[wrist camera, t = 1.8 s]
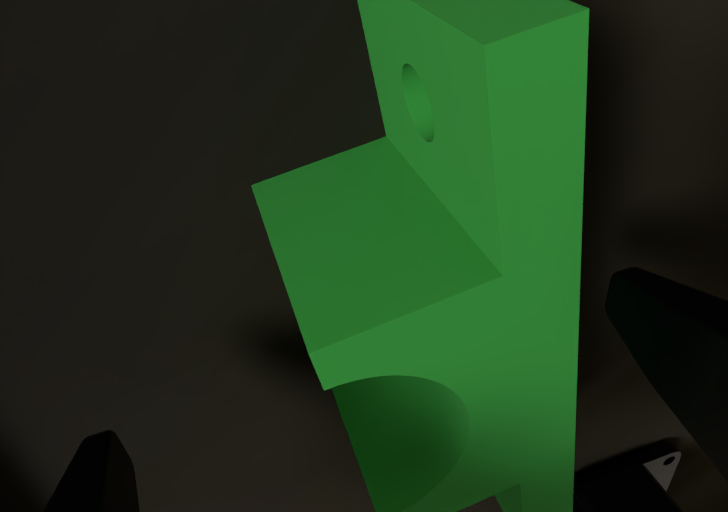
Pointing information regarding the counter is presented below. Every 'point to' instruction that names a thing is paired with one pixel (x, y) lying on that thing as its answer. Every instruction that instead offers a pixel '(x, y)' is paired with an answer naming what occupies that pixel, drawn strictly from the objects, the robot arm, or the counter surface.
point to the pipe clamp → (451, 255)
